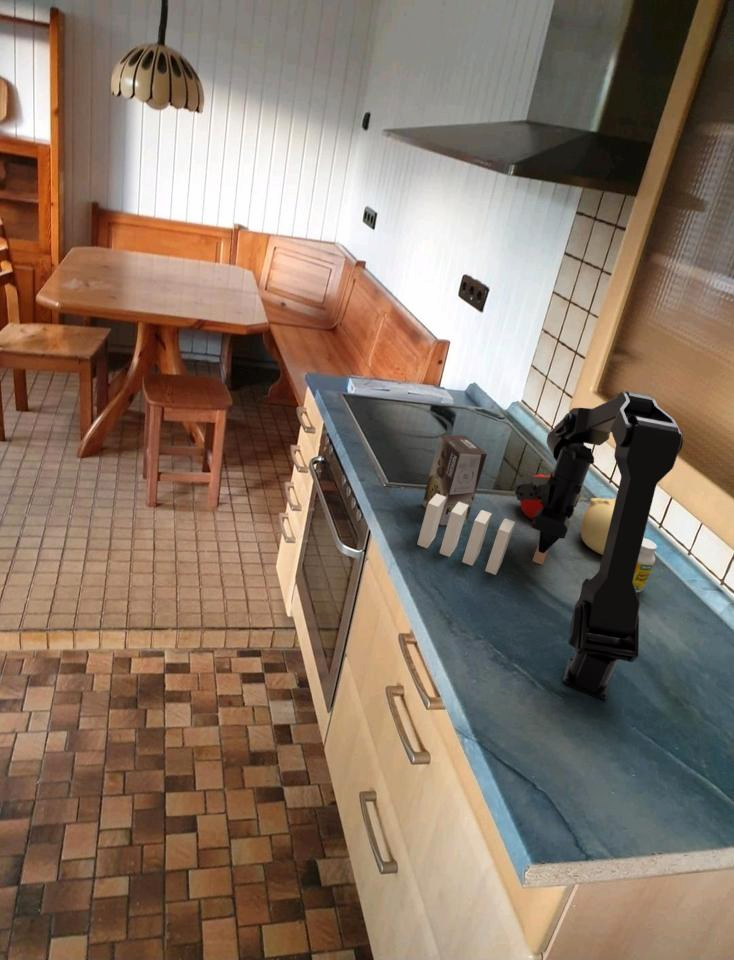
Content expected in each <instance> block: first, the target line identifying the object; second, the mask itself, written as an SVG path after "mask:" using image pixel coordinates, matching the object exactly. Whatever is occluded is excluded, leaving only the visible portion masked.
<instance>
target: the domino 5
mask: <svg viewBox="0 0 734 960" xmlns="http://www.w3.org/2000/svg"><path fill="white" fill-rule="evenodd" d="M538 549H539V543H538V544H537V547H536V550H535V551H534V556H533V558H532V562H534V563H537V564H540V565H543V564H544V562H545V560H546V557H547V554H548V551H549V549H548V550H547V551H546V552H545V553H541V552H539V551H538Z"/></svg>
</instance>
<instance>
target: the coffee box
mask: <svg viewBox="0 0 734 960" xmlns="http://www.w3.org/2000/svg"><path fill="white" fill-rule="evenodd" d="M487 455H488V454H487V453H486V452H485V451H484V450H483V449H482V448H480V446H478V445H477V444H476V443H474V441H473V440H471V439H470V438H469V437H468V436H466V435H463V434H462V435H459V434H456V435H454V434H452V435H451V434H449V435H438V439H437V444H436V447H435V452H434V456H433V460H432V463H431V468H430V472H429V477H428V481H427V483H426V488H425V492H424V496H423V499H422V500H423V501H422V506H423V507H424V508H425V510H426V509H427V506H428V503H429V501H430V500H431V499H432V498H433V497H434V496H435V495H436V493H437V494H439V495H442V496H445V497H446V500H445V504H444V507H443V511H442V514H441V518H440V522H439V525H440V526H447V524H448V521H449V517H450V514H451V511H452V510H453V508H454V507H455V506H456V504H457V503H458V502H461V503H464V504H467V505H469V506H468V510H467V513H466V516H465V520H464V523H463V526H466V525H467V524H468V518H469V517H470V516H469V515H470V512H471V508H472V506H473V503H474V499H475V496H476V492H477V489H478V486H479V482H480V479H481V476H482V472H483V469H484V465H485V463H486V462H485V461H486V459H487Z"/></svg>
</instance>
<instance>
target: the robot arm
mask: <svg viewBox="0 0 734 960" xmlns="http://www.w3.org/2000/svg"><path fill="white" fill-rule="evenodd" d="M611 434H612V435H611ZM610 435H611V436H612V437H613V439H614V443H615V450H614V459H615V462H616V465H617V468H618V471H619V473H620V480H619V485H618V489H617V493H616V497H615V498H616V501H615V506H614V510H613V514H612V518H611V522H610V527H609V531H608V535H607V539H606V544H605V548H604V552H603V555H602V557H601V559H600V560H601V561H600V565H599V569H598V572H597V573H596V574H595V575H594V576H593V577H591V578H585V579H584V580H583V582H582V584H581V590H580V595H579V597H578V600H577V601H576V603H575V604H574V608H573V611H572V612H573V613H572V616H571V621H570V625H569V637H568V640H567V643H568V644H569V645H570V646H571V647H572V648H574V650H575V654H574V656H573V657H568V659H567V662H566V665H565V671H564V675H563V679H562V682H563V684H565V685H566V686H569V687H571V688H573V689H576V690H578V691H579V692H580V691H581V692H583V693H585V694H588V695H590V696H592V697H595V698H597V699H599V700H602V701H606V700H607V698H608V696H609V695H608V694H609V689H610V682H611V676H612V674H613V672H614V670H615V667H616V664H617V663H618V660H619V661H623V662H624V661H625V662H628V663H633V662H634V661H636V660H637V658H638V657H639V642H640V641H639V639H640V638H639V637H640V634H639V631H640V628H639V626H640V616H639V611H640V605H641V603H640V599H639V597H638V594H637V593H638V592H637V593H636V590H635V587H634V585H633V579H634V575H635V571H636V566H637V562H638V558H639V554H640V550H641V546H642V542H643V538H645V532H646V529H647V524H648V520H649V517H650V512H651V508H652V504H653V500H654V495H655V492H656V487H657V485H658V483H659V482H660V481H662V479H663V478H665V477H666V476H667V475H668V474H669V473H670V471H672V469H673V468H674V466H675V463H676V461H677V458H678V455H679V453H680V452H681V450H682V447H683V443H684V438H683V434H682V432H681V430H680V428H679V426H678V424H677V422H676V420H675V419H674V418H673V417H672V416H671V415H670V414H668V413H667V412H666V411H664V410H663V409H662V408H661V407H660V406H658V404H657V401H656V399H655V398H654V397H651V396H650V395H646V394H642V393H637V392H632V391H622V392H619V393H618V395H617V396H616V397H614V398H612V399H609V400H607V401H606V402H604V403H601V404H599V405H598V406H595V407H593V408H590V407H589V408H587V407H573V408H571V409H570V410H569V412H568V413H566V414H565V415H564V417H563V418H562V419H561V420H560V422H558V423H556V425H555V426H554V428H553V429H552V430H551V431H550V432H549V433H548V434H547V437H546V445H547V447H548V449H549V451H550V454H551V455H552V456H553V459H554V460H555V461H556V464H555V467H554V468H553V471H551V473H550V475H551V476H550V478H547V477H546V476H545V477H533V476H521V477H519V478H518V479H517V481H516V483H515V488H516V489H515V491H514V494H515V496H516V499H517V501H520V500H522V501H523V500H540V499H541V502H540V504H542V505H543V507H544V508H542V509H539V510H537V512H536V514H535V516H534V518H533V520H532V522H531V525H530V527H531V528H532V529H534V530H537V531H539V539H538V540H539V541H538V544H539V549H538V551H539V552H541V553H545V552H546V551H547V550H548V551H549V549H550V548H551V547H552V546H553V545H554V544H555V543H556V542H557V541H559V540H560V539H566V535H567V533H568V529H569V527H570V524H571V521H570V518H571V517H572V516H573V514H574V511H575V507H577V505H578V502H579V499H580V496H581V491H582V488H583V485H584V482H585V480H586V477H587V474H588V471H589V469H590V466H591V465H593V464H595V456H594V454H593V452H592V448H591V447H587V446H586V445H585V444H588V445H594V446H601V445H603V444H604V443H606V442H607V441H608V440H609V439H610Z"/></svg>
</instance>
